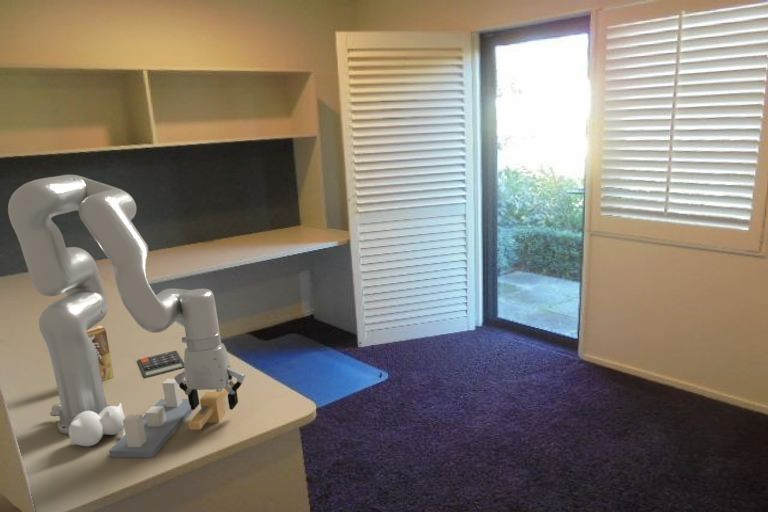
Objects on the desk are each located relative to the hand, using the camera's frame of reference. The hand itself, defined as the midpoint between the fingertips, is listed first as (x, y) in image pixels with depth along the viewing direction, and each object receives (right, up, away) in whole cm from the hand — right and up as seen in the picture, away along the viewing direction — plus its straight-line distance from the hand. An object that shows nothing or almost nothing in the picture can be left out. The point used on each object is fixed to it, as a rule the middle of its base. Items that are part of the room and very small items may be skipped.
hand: (214, 406), depth 135 cm
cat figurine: (-24, -6, -7) cm, 26 cm away
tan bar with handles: (0, -3, +1) cm, 3 cm away
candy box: (-42, 0, +25) cm, 49 cm away
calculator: (-27, +3, +34) cm, 44 cm away
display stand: (-13, -4, -3) cm, 14 cm away
